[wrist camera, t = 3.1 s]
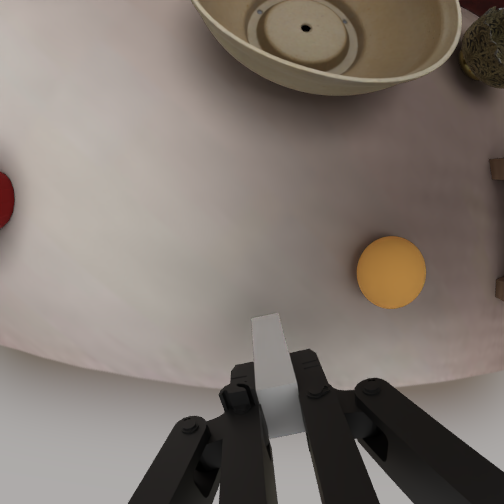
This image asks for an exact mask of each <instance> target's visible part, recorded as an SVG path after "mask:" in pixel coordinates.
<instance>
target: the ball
mask: <svg viewBox="0 0 504 504" xmlns="http://www.w3.org/2000/svg"><path fill="white" fill-rule="evenodd" d="M425 278H426V266H425V261H424V258H423V256H422V254H421V252H420V251H419V249H418V248H417V247H416V246H415V245H414V244H413V243H411V242H410V241H408V240H406V239H404V238H401V237H396V236H387V237H383V238H380V239H378V240H375V241H374V242H372V243H371V244H370V245H369V246H368V247H367V248H366V249H365V250H364V251H363V253H362V255H361V257H360V259H359V262H358V266H357V280H358V284H359V287H360V289H361V291H362V293H363V294H364V296H365V297H366V298H367V299H368V300H369V301H370V302H372V303H373V304H375V305H376V306H379V307H381V308H386V309H396V308H400V307H403V306H406V305H407V304H409V303H410V302H412V301H413V300H414V299H415V298H416V297H417V296H418V295H419V293H420V292H421V290H422V288H423V286H424V283H425Z"/></svg>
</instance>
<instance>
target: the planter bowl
mask: <svg viewBox="0 0 504 504" xmlns="http://www.w3.org/2000/svg"><path fill="white" fill-rule="evenodd" d="M191 2H192V3H193V5H194V6H195V8H196V9H197V11H198V12H199V13H200V15H201V17H202V19H203V20H204V22H205V24H206V25H207V27H208V28H209V30H210V31H211V33H212V34H213V36H214V37H215V38H216V39H217V41H218V42H219V43H220V44H221V45H222V46H223V48H224V49H225V50H226V51H227V52H228V53H230V54H231V55H232V56H233V57H234V58H235V59H236V60H238V61H239V62H240V63H241V64H243V65H244V66H245V67H247V68H248V69H250V70H251V71H253V72H255V73H256V74H258V75H260V76H262V77H264V78H266V79H267V80H270V81H272V82H274V83H276V84H279V85H282V86H284V87H287V88H290V89H294V90H297V91H302V92H306V93H312V94H318V95H330V96H348V95H358V94H365V93H370V92H375V91H379V90H382V89H386V88H389V87H392V86H394V85H397V84H400V83H405V82H408V81H412V80H415V79H417V78H420V77H422V76H424V75H426V74H428V73H430V72H432V71H434V70H435V69H437V68H438V67H440V66H441V65H442V64H443V63H444V62H446V61H447V59H448V58H449V57H450V56H451V54H452V53H453V51H454V50H455V48H456V46H457V44H458V41H459V38H460V34H461V27H462V15H461V8H460V4H459V0H191ZM303 25H307V26H309V27H310V28H311V29H310V31H309V32H304V31H302V29H301V27H302V26H303Z"/></svg>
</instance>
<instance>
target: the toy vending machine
mask: <svg viewBox="0 0 504 504" xmlns="http://www.w3.org/2000/svg"><path fill="white" fill-rule="evenodd" d="M459 4H460V6H462V7H463V8H465V9H467V10H469V11H471V12H472V13H474V14H476V15H477V16H479V17H481V16H482V15H483V14H484V13H486V12H487V11H488V10H489V8H492V7H496V9H495V10H497V9H498V8H504V0H459ZM503 13H504V12H503Z"/></svg>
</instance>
